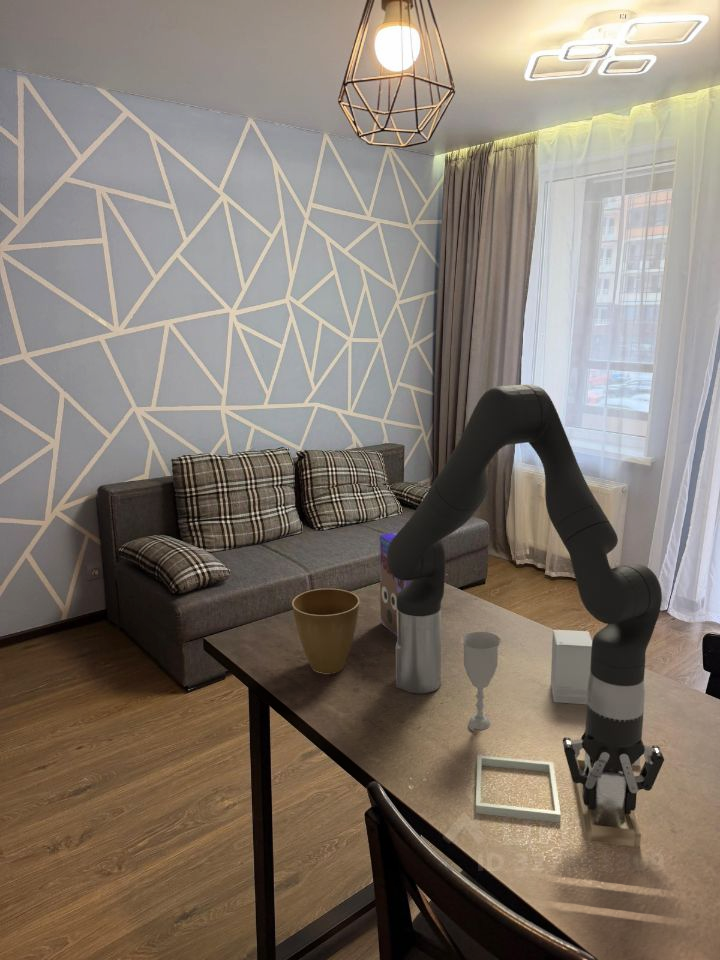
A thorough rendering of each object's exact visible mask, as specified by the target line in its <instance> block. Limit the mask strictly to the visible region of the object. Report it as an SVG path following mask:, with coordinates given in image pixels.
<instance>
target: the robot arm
mask: <svg viewBox="0 0 720 960" xmlns="http://www.w3.org/2000/svg"><path fill="white" fill-rule="evenodd" d="M527 443H528V444H529V445H530V446H531V448H532V449H533V450H534V451H535V453H536V454H537V456H538V458H539V460H540V461H541V464H542V468H543V472H544V483H545V484H544V485H545V488H544V489H545V490H544V492H545V494H544V496H545V499H544V500H545V505H546V511H547V514H548V516H549V517H548V518H549V519H550V522H551V524H552V525H553V527H554V530H555V531H556V532H557V534H558V537H559V538H560V540H561V542H562V544H563V545H564V547H565V548H566V551H567V552H568V554H569V557H570V563H571V566H572V571H573V575H574V578H575V581H576V586H577V589H578V595H579V597H580V600H581V603H582V604H583V606H584V608H585V609H586V610H587V612H588V614H590V615H591V616H592V617H593V618H594V619H596V621H598V622H601V623H602V624H606V625H605V626H603V628H601V629H600V630H599V631H597V632H596V633H595V634H594V636H593V637H592V649H591V667H590V676H589V680H588V688H587V692H586V696H587V705H586V710H585V711H586V713H585V728H584V733H582V736H581V738H579V739H571V738H570V737H567V736H564V738H562V745H563V746H562V747H563V750H564V755H565V758H566V761H567V766H568V769H569V773H570V776H571V780H572V782H573V783H574V784H575V783H581V784H583V794H582V796H583V801H584V804H585V805H587V806H588V810H594V796H595V788H594V785H595V782H596V780H597V778H599V777H600V775H601V773H602V771H603V770H610V769H613V770H617V771H623V772H624V774H625V777H626V780H627V788H626V802H625V814H631V810H633V811H634V812H635V810H636V808H637V806H636V805H637V794H638V792H639V791H640V790H644V791H647V792H649V791H651V790H652V788H653V786H654V784H655V782H656V780H657V777H658V774H660V771H661V768H662V765H664V762H665V757H664V756H663V752H662V750H661V748H660V746H659V745H657V744H656V745H652V746H650V745H646V744H644V742H643V741H642V739H643V726H644V725H643V724H644V711H645V710H644V709H645V700H646V699H645V698H646V697H645V696H646V690H645V669H646V651H647V649H648V648H647V647H648V646H649V643H650V641H651V638H652V637H653V633H654V630H655V628H656V624H657V621H658V619H659V615H660V613H661V608H662V602H663V600H662V599H663V595H662V588H661V584H660V581H659V579H658V577H657V576H656V573H655V572H654V571H652V569H650V568H649V567H647V566H646V565H643V564H638V563H631V564H625V565H621V566H617V567H614V568H612V567H611V566H610V563H609V560H608V559H609V558H608V556H607V555H608V554H609V553H610V552H612V551H613V550H614V549H615V548H616V547H617V544H618V541H619V539H618V535H617V532H616V531H615V529H614V526H613V525H612V524H611V522H610V520H609V519H608V517H607V515H606V513H605V512H604V510H603V509H602V507H601V505H600V504H599V502H598V501H597V499H596V498H595V496H594V494H593V492H592V491H591V489H590V488H589V485H588V483H587V481H586V479H585V477H584V474H583V473H582V470H581V468H580V466H579V463H578V460H577V458H576V455H575V454H574V453H575V452H574V451H573V448H572V445H571V443H570V439H569V438H568V435H567V433H566V431H565V428H564V426H563V424H562V420H561V418H560V416H559V413H558V411H557V408H556V406H555V405H554V402H553V400H552V399H551V397H550V395H549V394H548V393H547V391H546V390H545V389H543V388H542V387H541V386H538V385H535V384H514V385H513V384H512V385H500V386H499V385H498V386H495V387H492V388H490V389H488V390H486V391H485V392H484V393H483V394H482V396H481V397H480V398H479V400H478V401H477V404H476V405H475V407H474V409H473V411H472V413H471V415H470V417H469V420H468V421H467V424H466V425H465V428H464V430H463V432H462V434H461V436H460V439H459V440H458V442H457V444H456V446H455V448H454V449H453V451H452V453H451V454H450V456H449V457H448V460H446V462H445V465H444V466H443V468H441V470H440V472H439V473H438V474H437V476H436V477H435V479H434V481H433V483H432V484H431V485H430V487H429V489H428V491H427V493H426V495H425V496H424V498H423V499H422V500H421V501H420V503H419V505H418V507H416V509H415V511H414V512H413V514H412V515H411V516H410V518H409V519H408V521H407V522H406V523H405V524H404V525H403V527H401V529H400V530H399V531H398V532H396V533H397V535H396V536H395V537H394V538H393V539H392V541H391V543H390V545H389V547H388V551H387V566H388V569H389V571H390V573H391V574H392V575H393V576H394V577H395V578H397V579H399V580H405V581H408V580H413V581H412V582H411V583H410V584H409V585H408V586H407V587H405V588H404V589H403V590H401V591H400V592H399V593H398V595H397V601H396V602H397V636H396V644H395V688H396V689H402V690H404V691H406V692H408V693H412V694H413V693H414V694H428V693H432V692H435V691H437V690H438V689H439V688H440V687H441V684H442V600H443V599H444V596H445V595H444V594H445V577H446V563H447V562H446V551H445V546H444V543H443V539H445V538H446V537H448V536H449V535H451V534H453V533H454V532H456V531H457V530H459V528H461V527H463V526H464V525H465V524H466V523H467V522H468V521H469V520H470V519H471V518H472V517H473V516H474V514H475V513H476V512H477V510H478V509H479V508H480V506H481V505H482V504H483V502H484V501H485V498H486V497H487V494H488V487H489V485H488V474H487V468H488V466H489V464H490V463H491V461H492V459H493V458H494V456H495V455H496V454H497V453H498V452H500V450H501V449H503V448H504V447H505V446H508V445H518V444H527ZM582 749H583V750H584V752H585V751H586V753H587V754H588V755H589V758H588V761H587V766H586V768H585V770H584V771H583V770H580V769H579V767H578V764H577V760H576V757H580V755H581V753H580V751H581V750H582ZM643 755H644V756H643ZM642 756H643V757H644V760H645V761H644V764H643V766H642V768H641V770H640V772H639V775H635V774H634V770H633V768H632V767H633V766H634V765H633V764H634V763H635V762H636V761H637V760H638V759H639V758H640V759H641V757H642Z"/></svg>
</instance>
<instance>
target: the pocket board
mask: <svg viewBox="0 0 720 960" xmlns="http://www.w3.org/2000/svg"><path fill="white" fill-rule="evenodd" d="M576 760H577V764H578V767H579V769H580V770H583V771H584V760H585V756H584V757H583V756H578V757H576ZM574 787H575V788H574V789H575V793H576V798H577V804H578V809H579V813H580V814H579V815H580V820H581V825H582V830H583V831H582V832H583V837H584V841H587V842H596V843H603V844H610V845H611V844H612V845H622V846H629V847H637V848H640V847H641V840H642V839H641V838H642V833H641V829H640V827H639V824H638V819H637V816H636V814H635V810H634V811H633V810H631V814H625V817H624V824H623V825H622V826H620V827H618V828H615V827H606V826H602V825H600V824H598V823H597V822H596V821H595V820H594V819H593V817H592V810H588V806H587V805H585V804H584V801H583V796H582V794H583V784H581V783H574Z"/></svg>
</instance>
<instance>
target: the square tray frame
mask: <svg viewBox="0 0 720 960" xmlns="http://www.w3.org/2000/svg"><path fill="white" fill-rule="evenodd" d="M476 762H477V763H476V789H475V790H476V791H475V793H476V794H475V795H476V796H475V814H481V815H487V816H488V815H491V816H500V817H507V818H516V819H525V820H527V819H528V820H533V821H544V822H552V823H553V822H554V823H561V821H562V819H561V818H562V817H561V815H562V814H561V808H560V801H559V799H560V798H559V794H558V793H559V792H558V785H557V780H556V773H555V766H554V765H555V764H554V762H553V761H542V760H532V759H531V760H530V759H522V758H511V757H502V756H501V757H500V756H490V755H479V754H477V761H476ZM482 766H487V767H496V768H504V769H505V768H506V769H515V770H516V769H517V770H527V771H537V772H545V773H546V772H547V773H548V774H549V783H550V791H551V799H552V804H553V809H552V810H550V809H541V808H534V807H533V808H531V807H525V806H524V807H523V806H513V805H504V804H496V803H488V802H487V803H486V802H482V801H481V800H482V797H481V796H482Z"/></svg>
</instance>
